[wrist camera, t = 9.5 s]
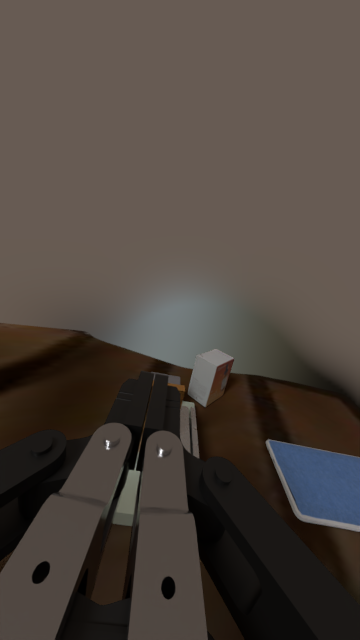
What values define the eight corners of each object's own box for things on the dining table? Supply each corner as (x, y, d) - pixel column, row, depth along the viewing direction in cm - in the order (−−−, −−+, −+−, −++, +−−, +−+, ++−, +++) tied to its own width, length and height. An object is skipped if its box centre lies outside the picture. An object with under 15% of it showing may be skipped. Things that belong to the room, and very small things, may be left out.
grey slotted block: (194, 477, 27) (199, 461, 26) (104, 463, 27) (106, 446, 26) (191, 420, 37) (195, 407, 36) (124, 409, 36) (126, 396, 35)
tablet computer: (295, 523, 27) (299, 516, 26) (263, 441, 39) (265, 436, 38) (435, 551, 27) (441, 545, 26) (360, 461, 39) (363, 456, 39)
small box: (205, 408, 44) (216, 366, 41) (186, 394, 47) (196, 354, 44) (223, 395, 50) (235, 358, 47) (205, 383, 53) (215, 347, 50)
